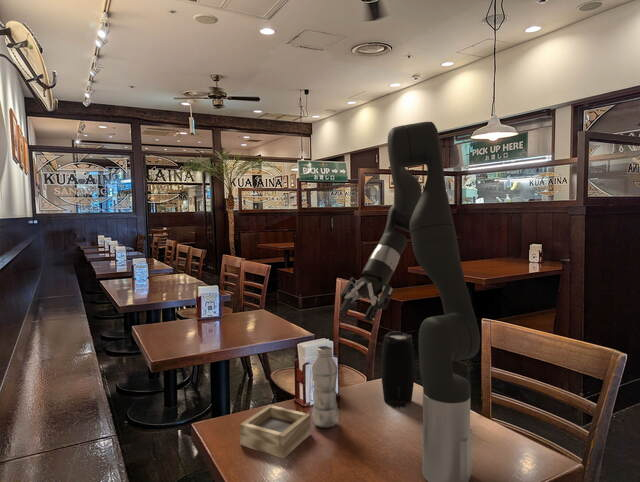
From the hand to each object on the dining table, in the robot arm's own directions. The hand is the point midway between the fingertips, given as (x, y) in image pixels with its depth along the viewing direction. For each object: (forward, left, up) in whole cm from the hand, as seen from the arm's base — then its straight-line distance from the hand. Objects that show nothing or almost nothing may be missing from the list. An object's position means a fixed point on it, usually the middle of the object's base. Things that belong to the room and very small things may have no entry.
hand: (354, 316), depth 112 cm
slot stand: (+12, +18, -27) cm, 35 cm away
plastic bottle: (+5, +6, -28) cm, 29 cm away
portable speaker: (-7, -16, -28) cm, 32 cm away
